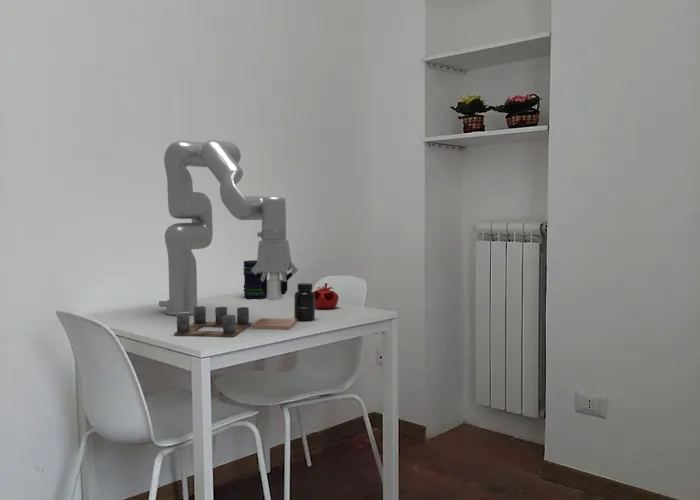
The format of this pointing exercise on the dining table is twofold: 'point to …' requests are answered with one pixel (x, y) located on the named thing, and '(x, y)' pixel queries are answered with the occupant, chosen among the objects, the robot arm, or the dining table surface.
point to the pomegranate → (325, 298)
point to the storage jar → (252, 282)
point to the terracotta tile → (274, 323)
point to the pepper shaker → (274, 287)
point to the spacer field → (213, 323)
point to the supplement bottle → (304, 303)
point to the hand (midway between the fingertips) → (274, 293)
